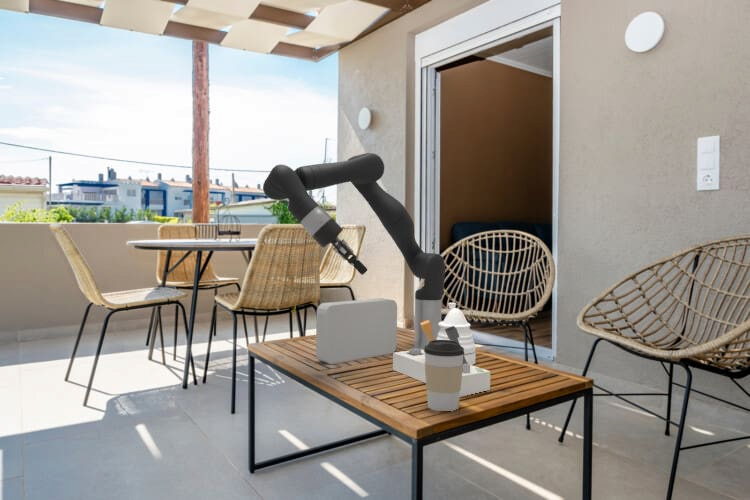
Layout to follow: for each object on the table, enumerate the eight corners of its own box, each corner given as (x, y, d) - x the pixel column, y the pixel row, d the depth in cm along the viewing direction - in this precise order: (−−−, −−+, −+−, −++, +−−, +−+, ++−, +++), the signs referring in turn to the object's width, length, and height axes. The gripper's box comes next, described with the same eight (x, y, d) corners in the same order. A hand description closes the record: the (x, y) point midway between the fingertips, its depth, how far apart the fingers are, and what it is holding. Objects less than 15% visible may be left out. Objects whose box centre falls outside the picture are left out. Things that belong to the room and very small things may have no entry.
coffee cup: (419, 400, 118) (420, 336, 117) (457, 400, 119) (458, 336, 118) (427, 413, 109) (428, 345, 108) (468, 413, 110) (469, 344, 109)
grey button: (416, 357, 147) (416, 347, 147) (423, 360, 144) (423, 349, 144) (406, 359, 145) (406, 348, 145) (413, 361, 142) (413, 351, 142)
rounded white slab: (382, 349, 174) (382, 297, 173) (396, 353, 168) (397, 299, 167) (311, 360, 155) (312, 302, 155) (325, 365, 150) (326, 305, 149)
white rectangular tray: (420, 365, 151) (420, 342, 151) (489, 390, 126) (490, 363, 126) (392, 369, 145) (393, 345, 145) (459, 397, 121) (460, 368, 121)
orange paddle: (442, 357, 138) (428, 319, 137) (444, 360, 134) (430, 322, 134) (434, 360, 137) (420, 323, 137) (436, 363, 134) (421, 325, 134)
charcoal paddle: (468, 365, 129) (453, 325, 128) (472, 369, 125) (456, 328, 125) (460, 368, 129) (444, 329, 128) (463, 372, 125) (447, 331, 125)
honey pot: (426, 358, 160) (427, 302, 160) (458, 355, 166) (459, 300, 165) (449, 368, 148) (451, 307, 148) (484, 363, 154) (485, 305, 154)
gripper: (329, 215, 130) (375, 264, 131) (332, 218, 143) (374, 262, 144) (308, 235, 130) (354, 283, 131) (313, 236, 143) (355, 280, 144)
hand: (365, 272), depth 137 cm, fingers closed
